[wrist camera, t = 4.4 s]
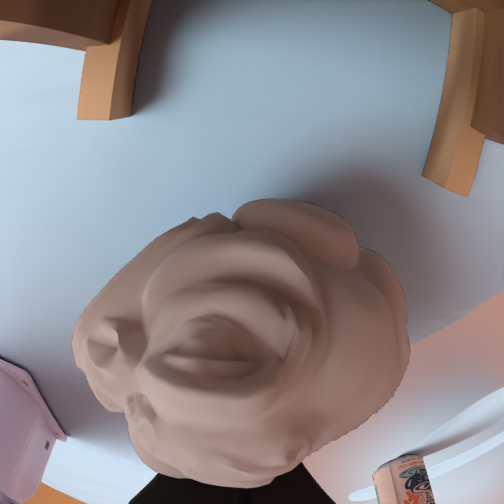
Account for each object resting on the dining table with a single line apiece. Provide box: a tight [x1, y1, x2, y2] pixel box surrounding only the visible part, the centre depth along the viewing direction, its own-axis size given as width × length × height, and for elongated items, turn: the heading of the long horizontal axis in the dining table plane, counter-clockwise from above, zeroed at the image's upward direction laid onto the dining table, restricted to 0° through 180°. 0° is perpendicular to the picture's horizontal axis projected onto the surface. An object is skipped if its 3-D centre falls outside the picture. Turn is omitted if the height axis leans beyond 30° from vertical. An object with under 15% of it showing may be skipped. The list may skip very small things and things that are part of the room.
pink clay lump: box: [72, 198, 410, 488], centre depth 7 cm, size 6×7×7 cm
